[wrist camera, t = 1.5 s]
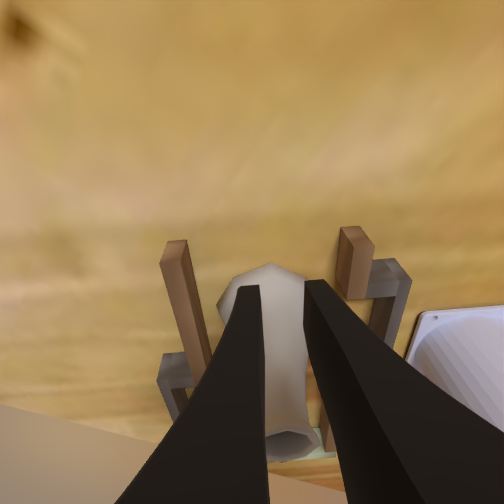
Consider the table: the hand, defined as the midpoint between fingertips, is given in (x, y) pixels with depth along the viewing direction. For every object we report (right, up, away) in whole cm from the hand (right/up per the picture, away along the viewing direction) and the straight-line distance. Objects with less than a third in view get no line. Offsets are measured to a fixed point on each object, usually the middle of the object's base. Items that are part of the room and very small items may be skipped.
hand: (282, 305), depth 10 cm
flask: (0, -2, +13) cm, 13 cm away
